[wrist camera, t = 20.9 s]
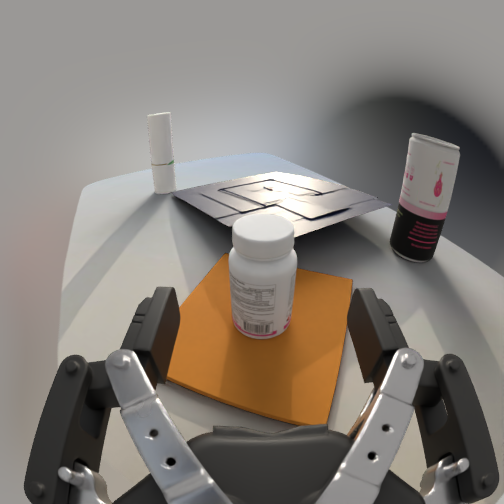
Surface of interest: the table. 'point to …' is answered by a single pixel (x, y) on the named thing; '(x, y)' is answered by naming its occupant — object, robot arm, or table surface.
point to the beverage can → (424, 197)
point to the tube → (162, 152)
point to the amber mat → (264, 349)
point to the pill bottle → (262, 274)
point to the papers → (281, 200)
